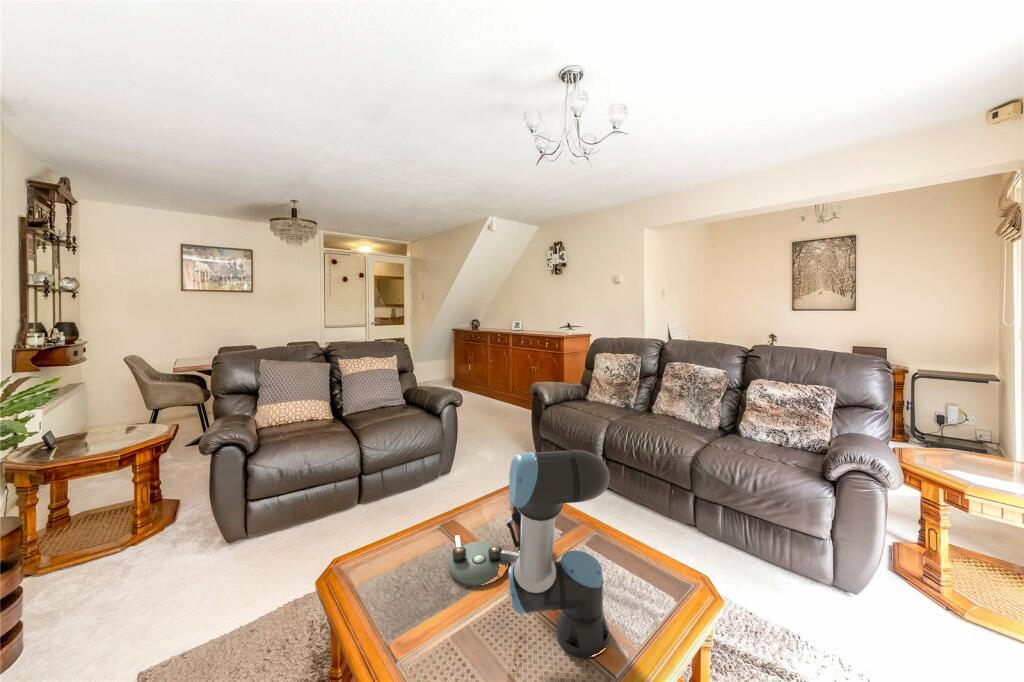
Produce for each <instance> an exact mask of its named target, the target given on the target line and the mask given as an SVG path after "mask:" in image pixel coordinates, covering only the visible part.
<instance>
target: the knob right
mask: <svg viewBox="0 0 1024 682" xmlns="http://www.w3.org/2000/svg"><path fill="white" fill-rule="evenodd" d="M505 550H506V549H505ZM505 550H502V548H501V547H499V546H492V547H490V548H489V550H488V553H489V560H490V561H491V562H498V561H500V560H505V561H509V562H513V563H516V561H517V559H518V558H519V557H520V554H519V552H517V551H510V550H506V551H505Z"/></svg>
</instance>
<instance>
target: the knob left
mask: <svg viewBox="0 0 1024 682" xmlns="http://www.w3.org/2000/svg"><path fill="white" fill-rule="evenodd" d="M454 537H455V538H454V540H455V547H454V548H453V549H452V554H453V561H454V562H456V563H461V562H464V561H465V560H466V549H465V548H464V547H461V538H460V534H458V535H455V536H454Z"/></svg>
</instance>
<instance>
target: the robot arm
mask: <svg viewBox="0 0 1024 682" xmlns="http://www.w3.org/2000/svg"><path fill="white" fill-rule="evenodd" d="M508 474H509V475H508V476H509V478H508V479H509V481H508V493H509V494H508V495H509V501H510V504H511V506H512V514H511V517H510V518H509V519H505V524H506V527H507V528H508V529H509V532H510V535H511V539H512V542H513V545H514V547H515V548H518V553H519V554H520V557H519V558H518V559H517V561H516V562H514V563H513V564H512V565H510V566H508V581H509V591H510V597H511V603H512V608H513V610H514V612H516V613H517V614H532V613H539V612H549V611H559V610H560V612H559V614H558V618H557V620H556V625H555V626H556V627H555V630H556V632H555V634H556V639H557V641H558V644H559V645H560V647H561V648H562V649H563V650H564V651H565V652H567V653H568V654H570V655H571V656H573V657H577V658H579V659H580V658H581V659H590V658H589V657H590V656H592V655H594V654H597V653H599V652H600V651H601V650H603V649H604V648H606V646H607V645H608V646H609V644H610V630H609V625H608V623H607V620H606V617H605V613H604V611H603V609H604V603H603V602H604V601H603V600H604V596H603V595H604V594H603V593H604V591H603V590H604V588H603V587H604V586H603V585H604V578H603V568H602V565H601V563H600V562H599V561H598V559H597V558H596V557H594V556H593V555H591V554H589V553H587V552H585V551H582V550H576V549H575V550H568V551H566V552H565V553H563V554H562V556H561V558H560V560H559V561H554V560H553V551H554V541H555V540H554V539H555V527H556V518H557V517H558V516H559V515H560V513H561V512H562V510H563V507H564V504H575V503H582V502H587V501H591V500H595V499H596V498H598V497H601V496H602V494H604V493H605V492H606V490H608V487H609V485H610V480H611V479H610V478H611V474H610V471H609V468H608V466H607V464H606V463H605V461H604V460H603V459H602V458H600V457H599V456H598V455H596V454H594V453H592V452H590V451H588V450H587V451H586V450H582V449H570V450H558V451H557V450H555V451H543V452H533V451H529V452H524V453H518V454H516V455H515V456H514V457H513V458H512V459H511V462H510V467H509V473H508ZM515 523H516V525H517V526H518V538H517V535H516V533H515V530H514V527H513V526H514V524H515Z"/></svg>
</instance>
